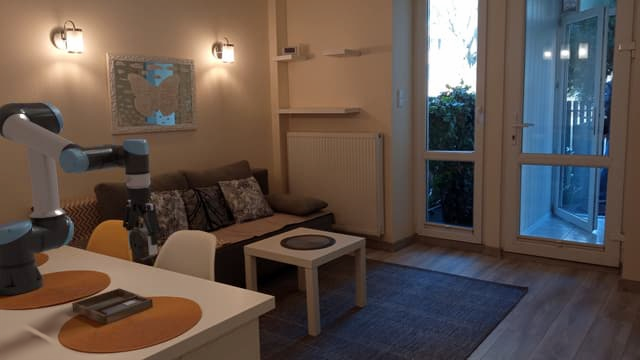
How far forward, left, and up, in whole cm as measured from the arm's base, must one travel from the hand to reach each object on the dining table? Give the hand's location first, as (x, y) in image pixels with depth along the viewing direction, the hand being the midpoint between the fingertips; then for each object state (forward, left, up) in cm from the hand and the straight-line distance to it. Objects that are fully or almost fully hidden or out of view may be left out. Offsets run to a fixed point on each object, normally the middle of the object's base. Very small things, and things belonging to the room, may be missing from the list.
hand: (143, 251), depth 172 cm
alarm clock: (0, 0, -4) cm, 4 cm away
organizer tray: (+7, -16, -14) cm, 22 cm away
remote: (+12, -16, -13) cm, 24 cm away
